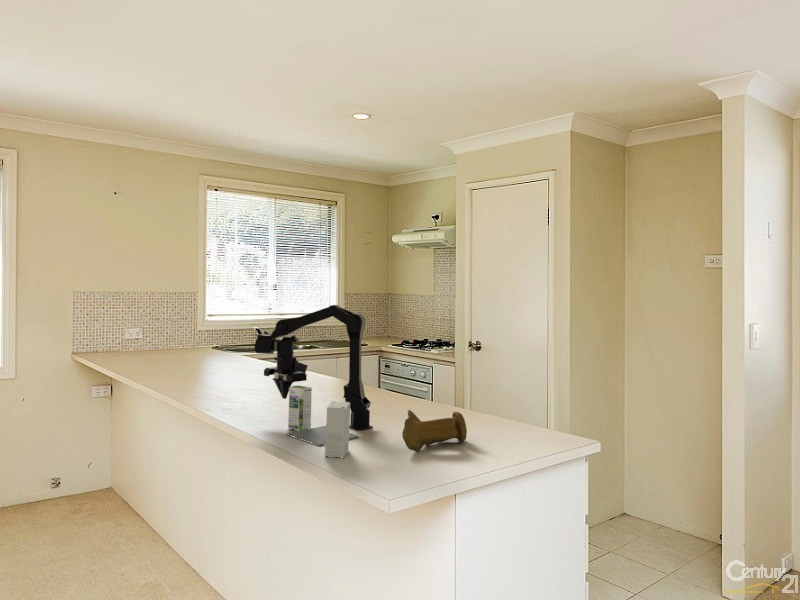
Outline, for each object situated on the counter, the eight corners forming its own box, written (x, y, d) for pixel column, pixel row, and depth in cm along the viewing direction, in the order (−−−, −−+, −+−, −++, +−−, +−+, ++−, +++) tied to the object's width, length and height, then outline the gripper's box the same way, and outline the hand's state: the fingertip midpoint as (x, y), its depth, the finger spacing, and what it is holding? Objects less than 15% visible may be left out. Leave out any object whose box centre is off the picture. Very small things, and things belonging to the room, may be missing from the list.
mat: (359, 437, 191) (359, 435, 191) (319, 446, 180) (319, 444, 180) (325, 427, 204) (325, 425, 204) (286, 434, 193) (286, 433, 193)
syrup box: (287, 429, 200) (288, 387, 200) (298, 426, 205) (298, 384, 205) (300, 431, 197) (301, 388, 197) (311, 428, 203) (312, 386, 202)
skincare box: (329, 449, 177) (330, 400, 176) (349, 450, 176) (350, 401, 176) (324, 458, 168) (325, 406, 168) (345, 458, 168) (346, 407, 168)
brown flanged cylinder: (390, 415, 192) (454, 403, 197) (397, 455, 189) (462, 442, 193) (397, 409, 175) (467, 396, 179) (406, 453, 172) (477, 439, 176)
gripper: (319, 355, 207) (318, 399, 207) (289, 350, 220) (288, 392, 220) (293, 357, 199) (292, 403, 199) (263, 352, 212) (262, 395, 212)
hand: (284, 398), depth 208 cm, fingers closed
